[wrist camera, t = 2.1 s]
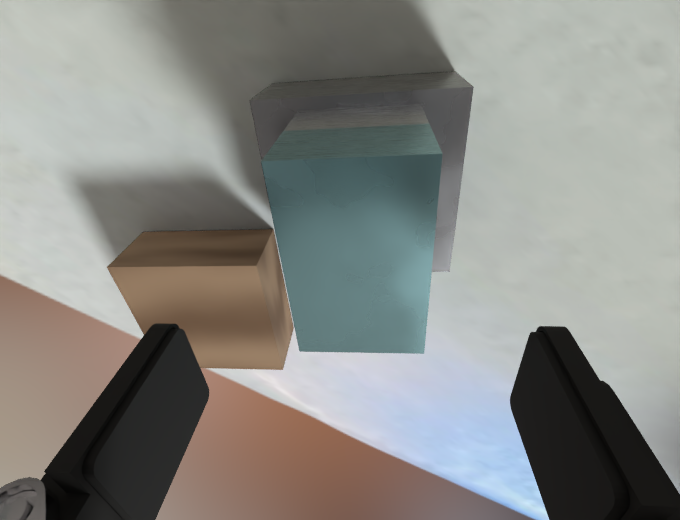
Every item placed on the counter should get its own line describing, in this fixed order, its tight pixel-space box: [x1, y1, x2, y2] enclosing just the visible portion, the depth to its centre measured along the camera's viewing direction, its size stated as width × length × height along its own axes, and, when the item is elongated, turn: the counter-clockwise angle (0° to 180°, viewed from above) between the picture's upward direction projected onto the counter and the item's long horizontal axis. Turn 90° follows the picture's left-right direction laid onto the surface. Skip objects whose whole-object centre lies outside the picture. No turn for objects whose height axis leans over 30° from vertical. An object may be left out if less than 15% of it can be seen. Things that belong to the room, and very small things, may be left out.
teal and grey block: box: [261, 104, 442, 354], centre depth 15 cm, size 8×5×6 cm, turn 4°
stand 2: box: [250, 71, 473, 272], centre depth 19 cm, size 9×9×4 cm
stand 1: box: [107, 229, 293, 370], centre depth 25 cm, size 9×9×4 cm
